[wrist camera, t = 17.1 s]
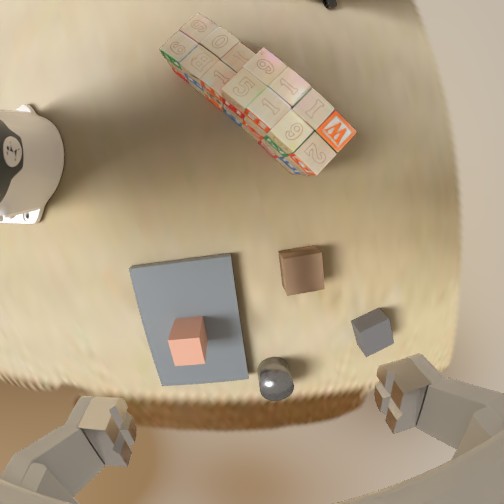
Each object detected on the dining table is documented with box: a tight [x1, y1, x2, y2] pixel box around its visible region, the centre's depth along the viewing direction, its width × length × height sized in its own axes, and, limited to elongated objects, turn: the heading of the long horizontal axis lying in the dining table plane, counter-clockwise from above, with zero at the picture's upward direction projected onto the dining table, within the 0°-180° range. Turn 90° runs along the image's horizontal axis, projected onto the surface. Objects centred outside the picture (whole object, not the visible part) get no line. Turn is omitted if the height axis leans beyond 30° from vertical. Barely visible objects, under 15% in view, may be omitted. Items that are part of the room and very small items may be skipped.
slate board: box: [129, 253, 249, 386], centre depth 43 cm, size 14×20×2 cm
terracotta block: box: [168, 316, 208, 366], centre depth 40 cm, size 4×4×6 cm
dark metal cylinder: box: [257, 357, 294, 401], centre depth 45 cm, size 5×5×5 cm
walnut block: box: [279, 246, 324, 296], centre depth 41 cm, size 5×5×4 cm
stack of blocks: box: [160, 13, 357, 176], centre depth 31 cm, size 21×6×12 cm, turn 47°
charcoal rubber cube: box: [351, 308, 394, 357], centre depth 44 cm, size 5×5×4 cm
